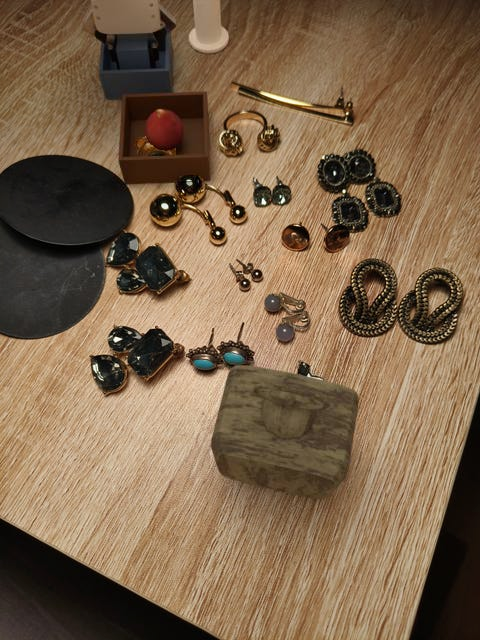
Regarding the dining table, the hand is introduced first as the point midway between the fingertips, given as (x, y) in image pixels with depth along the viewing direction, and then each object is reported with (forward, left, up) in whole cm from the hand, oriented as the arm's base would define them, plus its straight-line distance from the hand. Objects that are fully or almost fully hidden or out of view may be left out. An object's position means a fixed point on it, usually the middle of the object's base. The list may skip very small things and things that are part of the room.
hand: (136, 62), depth 100 cm
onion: (+5, -17, -2) cm, 18 cm away
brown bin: (+5, -17, -3) cm, 18 cm away
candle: (+12, +8, -3) cm, 15 cm away
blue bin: (0, 0, -3) cm, 3 cm away
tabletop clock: (+19, -67, -3) cm, 70 cm away
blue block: (0, 0, 0) cm, 0 cm away
